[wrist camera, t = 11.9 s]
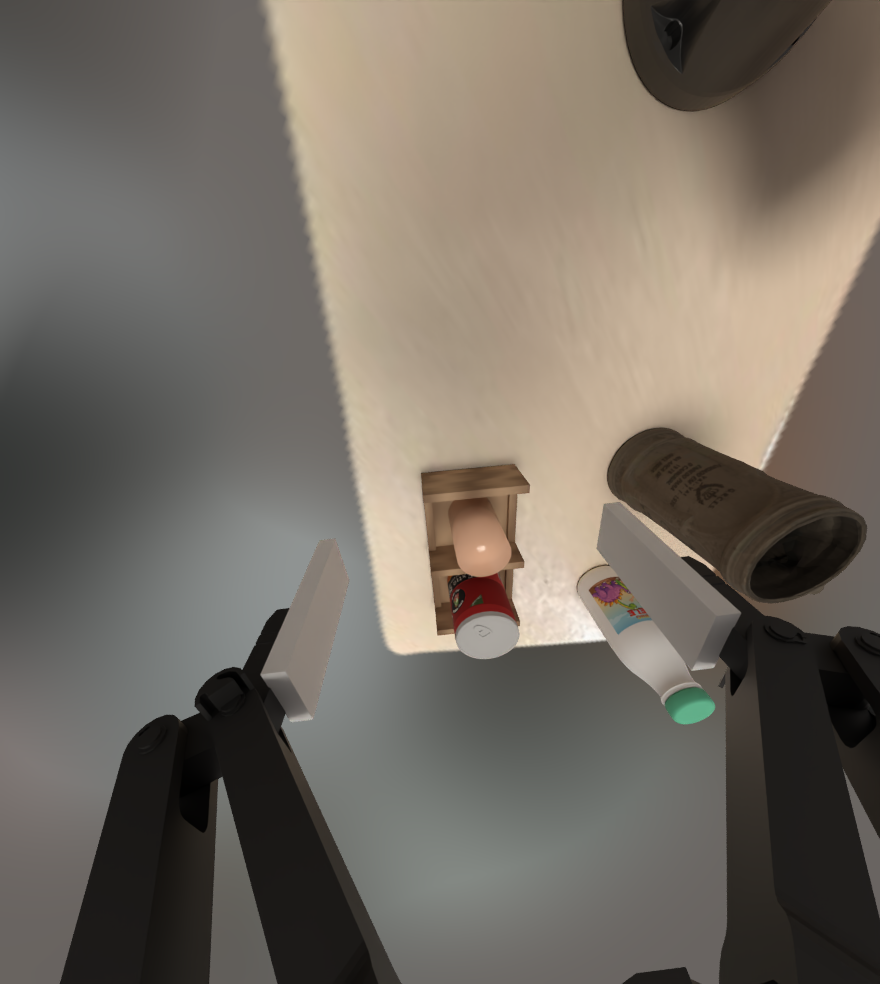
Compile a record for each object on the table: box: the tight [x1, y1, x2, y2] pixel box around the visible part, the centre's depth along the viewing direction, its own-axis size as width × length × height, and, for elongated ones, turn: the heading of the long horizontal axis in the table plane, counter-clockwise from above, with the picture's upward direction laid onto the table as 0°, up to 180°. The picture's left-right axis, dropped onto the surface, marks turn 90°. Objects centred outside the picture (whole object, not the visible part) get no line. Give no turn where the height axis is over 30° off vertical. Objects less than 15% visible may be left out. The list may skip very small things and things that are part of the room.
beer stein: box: [608, 428, 867, 603], centre depth 35 cm, size 15×11×20 cm
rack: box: [421, 464, 530, 635], centre depth 43 cm, size 12×23×6 cm, turn 4°
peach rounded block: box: [448, 497, 511, 577], centre depth 39 cm, size 6×6×9 cm
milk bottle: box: [577, 566, 715, 724], centre depth 43 cm, size 8×8×20 cm
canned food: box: [447, 572, 519, 659], centre depth 43 cm, size 8×8×11 cm
